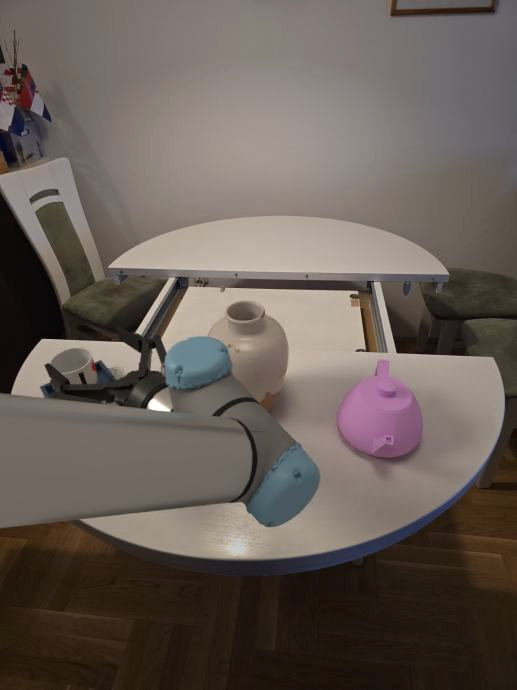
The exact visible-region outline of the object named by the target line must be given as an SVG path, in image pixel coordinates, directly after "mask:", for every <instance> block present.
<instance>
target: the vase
mask: <svg viewBox="0 0 517 690" xmlns="http://www.w3.org/2000/svg"><path fill="white" fill-rule="evenodd" d="M206 337H212V338H215V339H217V340H219V341H221V342H222V343H224V344H225V345H226V347H227V348H228V351H229V354H230V360H231V362H232V369H231V371H232V373H233V375H234V377H235V378H236V379H237V380H238V381H239V382H240V383H241V384H242V385H243V386H244V387H245V388H246V389H247V390H248V392H249V393H250V394H251V395H252V396H253V397H254V398H255V399H256V400H257V401H258V402H259V404H260V405H261V406H262V407H263V408H264V409H265V410H266V411H267V412H268V413H269V411H270V410H271V409H272V407H273V406H274V404H275V403H276V400H277V398H278V397H279V395H280V393H281V390H282V388H283V386H284V382H285V379H286V375H287V370H288V365H289V358H290V357H289V356H290V349H289V348H290V347H289V342H288V337H287V335H286V332H285V330H284V327H283V326H282V325H281V323H280V322H278V320H276V319H275V318H274V317H272V316H270V315H268V314H266V310H265V308H264V306H263V304H261V303H260V302H256V301H253V300H238V301H235V302H232V303H231V304H229V305H228V306H227V307H225V311H224V316H223V317H221V318H219V319H218V320H217V321H215V322H214V323H213V325H212V326H211V327H210V329H209V331H208V332H207V335H206Z"/></svg>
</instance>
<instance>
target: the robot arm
mask: <svg viewBox="0 0 517 690" xmlns="http://www.w3.org/2000/svg"><path fill="white" fill-rule="evenodd" d="M115 329H116V332H117V336H118V339H119V341H121V342H122V343H124V344H125V345H127V346H128V347H130V348H131V349H132V350H134V351H136V352H137V353H139V354H140V359H139V362H138V370H131V371H129V372H128V373H127V374H126V375H124V376H121V377H119V378H118V379H117V382H106V383H105V384H70V381H69V380H68V379H67V378H66V377H65V376H64V375H62V374H61V373H60V372H59V371H58V370H57V369H55V368H54V367H53V366H52V365H51V364H49V363H50V362H47V363H45V364H44V365H43V366H44V368H45V370H46V373H47V375H48V377H49V378H50V379H49V382H50V383H51V385H52V387H53V389H54V390H55V391H56V392H57V393H53V394H51V396H50V398H51V399H50V398H45V397H39V396H29V395H22V394H11V393H3V392H0V529H6V528H14V527H16V528H17V527H24V526H33V525H41V524H42V525H43V524H52V523H61V522H68V521H69V522H70V521H77V520H87V519H95V518H96V519H97V518H105V517H115V516H123V515H131V514H133V515H134V514H139V513H140V514H141V513H150V512H159V511H160V512H161V511H167V510H176V509H185V508H195V507H203V506H210V505H211V506H212V505H223V504H235V503H242V504H243V505H244V506H245V508H246V512H247V513H248V514H250V515H251V516H252V517H253V518H254V519H255V520H256V521H257V523H258V524H260V525H261V526H264V527H265V528H275V527H277V528H278V527H279V526H282V525H284V524H286V523H288V522H290V521H291V520H293V519H294V518H296V516H298V515H299V514H300V513H301V512H302V511H303V510H304V509H305V508H306V507H307V506H308V505H309V503H310V502H311V501H312V500H313V498H314V497H315V495H316V493H317V491H318V489H319V486H320V484H321V483H320V482H321V473H320V470H319V467H318V465H317V464H316V463H315V461H313V459H312V458H311V457H310V456H309V454H308V453H307V452H306V451H305V450H304V449H303V446H302V444H301V443H300V442H299V441H297V440H296V439H294V437H293V436H292V435H291V434H290V433H289V432H288V431H287V430H286V429H285V428H284V427H283V426H282V425H281V424H280V423H279V422H278V421H277V420H276V419H275V418H274V416H272V415H271V414H270V413H269V411H268V412H267V411H266V410H265V409H264V408H263V407H262V406H261V405H260V404H259V402H258V401H257V400H256V399H255V398H254V397H253V396H252V395H251V394H250V393H249V392H248V390H247V389H246V388H245V387H244V386H243V385H242V384H241V383H240V382H239V381H238V380H237V379H236V378H235V377H234V375H233V373H232V371H231V369H232V362H231V360H230V354H229V351H228V348H227V347H226V345H225V344H224V343H222V342H221V341H219V340H217V339H215V338H212V337H207V335H206V336H205V335H204V336H203V335H202V336H200V335H199V336H198V335H197V336H191V337H187V339H183V340H180V341H178V342H176V343H175V344H173V345H172V346H171V347H170V348H169V349H168V351H167V350H166V348H165V345H164V342H163V340H162V337H161V335H160V334H154V335H153V336H152V338H149V337H144V336H143V335H142V334H140V333H137V332H135V333H132V332H130V331H129V330H127V329H125V328H124V327H122V326H121V325H118V326H116V327H115ZM154 349H155V351H156V353H157V356H158V359H159V363H160V365H161V366H160V371H158V370H151V368H152V358H153V357H152V355H153V354H154V353H153V350H154ZM112 389H114V394H113V391H112ZM100 401H102V402H100ZM106 401H107V402H109V403H106Z"/></svg>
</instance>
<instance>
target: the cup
mask: <svg viewBox="0 0 517 690" xmlns="http://www.w3.org/2000/svg"><path fill="white" fill-rule="evenodd" d="M48 363H49V364H51V365H52V366H53V367H54V368H55V369H57V370H58V371H59V372H60V373H61V374H62V375H64V376H65V377H66V378H67V379H68V380H69V381H70V384H98V380H97V372H96V367H95V364H94V363H95V360H94V357H93V353H92V352H91V350H89V349H88V348H86V347H72V348H67V349H64V350H61V351H60V352H58V353H56V354H55V355H54V356H53V357H51V359H50V361H49V362H48Z"/></svg>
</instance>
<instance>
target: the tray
mask: <svg viewBox="0 0 517 690" xmlns="http://www.w3.org/2000/svg"><path fill="white" fill-rule="evenodd" d="M94 364H95V367H96V372H97V380H98V384H105V383H106V382H117V380H118V379H117V378H116V376H114V374H113V372H111V371H110V369H109V368H108V367H107V366H106V365H105V363H104V362H103V360H102V359H100V360H98V361H94ZM39 388H40V391H41V393H42V395H43V398H50V396H51V394H53V393H57V392H56V391H55V390H54V389H53V387H52V385H51V383H50V381H49V382H47V383H45V384H43V385H40V386H39ZM112 391H113V394H114V389H112ZM50 399H51V398H50ZM100 402H102V401H100ZM106 403H109V402H107V401H106Z"/></svg>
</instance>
